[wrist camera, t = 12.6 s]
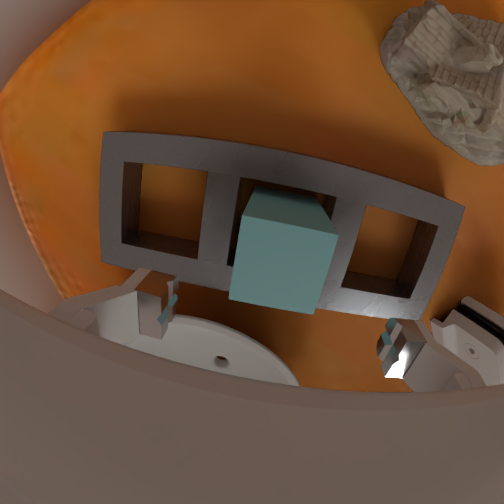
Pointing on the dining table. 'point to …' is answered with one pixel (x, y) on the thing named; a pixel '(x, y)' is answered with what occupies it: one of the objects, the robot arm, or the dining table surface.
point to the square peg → (282, 251)
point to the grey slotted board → (227, 210)
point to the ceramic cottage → (451, 77)
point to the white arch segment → (474, 338)
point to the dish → (216, 350)
